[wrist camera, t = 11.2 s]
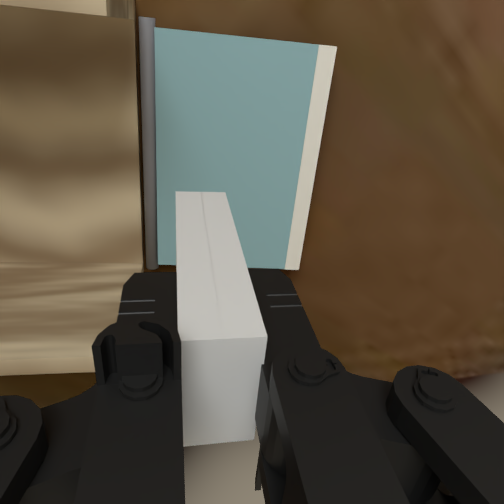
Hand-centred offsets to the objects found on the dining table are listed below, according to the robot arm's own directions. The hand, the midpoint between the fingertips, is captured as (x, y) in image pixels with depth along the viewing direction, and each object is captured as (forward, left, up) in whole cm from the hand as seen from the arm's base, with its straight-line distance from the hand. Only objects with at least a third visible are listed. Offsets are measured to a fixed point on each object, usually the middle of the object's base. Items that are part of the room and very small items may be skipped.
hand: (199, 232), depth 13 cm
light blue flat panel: (+3, -3, -18) cm, 19 cm away
